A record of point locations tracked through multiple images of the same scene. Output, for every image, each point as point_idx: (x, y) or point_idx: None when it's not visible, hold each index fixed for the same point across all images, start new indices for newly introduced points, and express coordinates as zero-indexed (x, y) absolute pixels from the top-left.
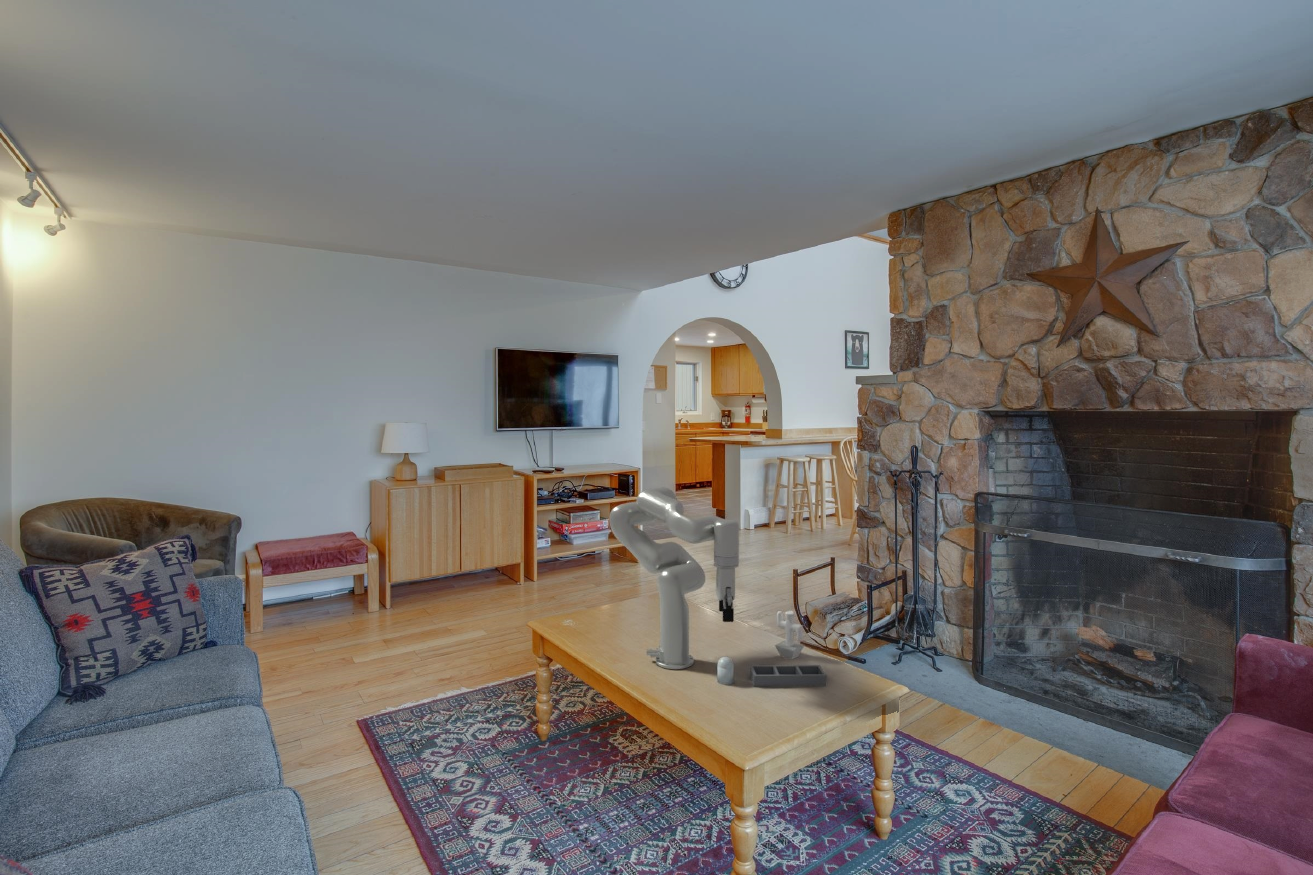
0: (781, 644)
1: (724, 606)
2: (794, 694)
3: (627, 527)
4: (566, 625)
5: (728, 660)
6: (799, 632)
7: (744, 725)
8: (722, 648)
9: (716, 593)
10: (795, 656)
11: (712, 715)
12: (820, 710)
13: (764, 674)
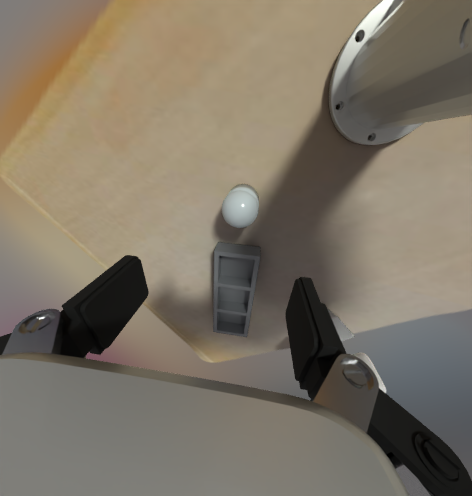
0: (336, 325)
1: (15, 329)
2: (192, 283)
3: None
4: None
5: (228, 218)
6: None
7: (87, 194)
8: (413, 231)
9: (215, 415)
10: None
11: (103, 145)
12: (152, 293)
13: (252, 268)
